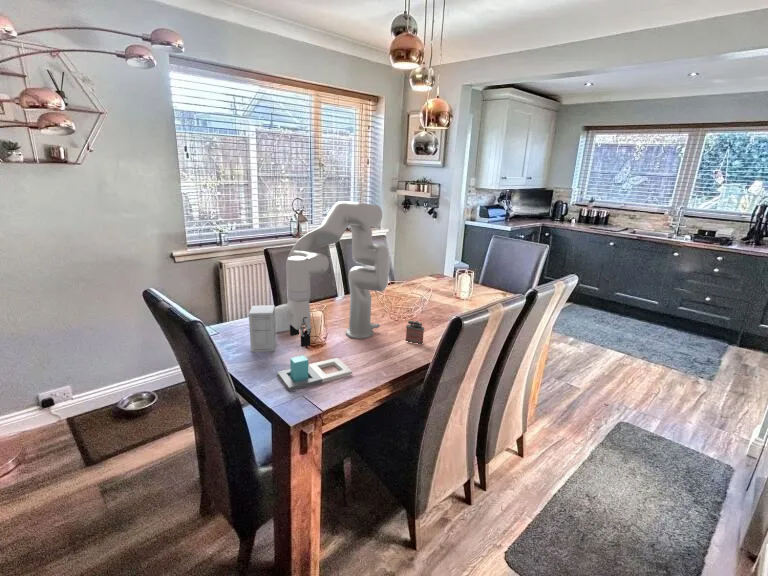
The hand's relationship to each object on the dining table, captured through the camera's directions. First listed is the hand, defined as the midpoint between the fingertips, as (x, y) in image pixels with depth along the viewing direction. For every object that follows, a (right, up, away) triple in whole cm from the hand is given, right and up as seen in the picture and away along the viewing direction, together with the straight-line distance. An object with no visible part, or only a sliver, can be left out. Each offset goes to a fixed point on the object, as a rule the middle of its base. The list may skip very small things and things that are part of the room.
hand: (300, 340), depth 137 cm
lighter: (+42, -6, +39) cm, 58 cm away
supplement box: (-21, -6, +27) cm, 34 cm away
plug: (-1, -14, +4) cm, 15 cm away
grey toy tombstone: (-16, -1, +45) cm, 47 cm away
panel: (+4, -14, +7) cm, 16 cm away
